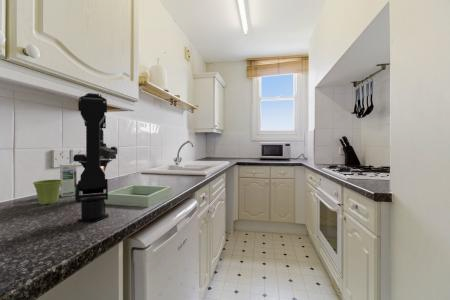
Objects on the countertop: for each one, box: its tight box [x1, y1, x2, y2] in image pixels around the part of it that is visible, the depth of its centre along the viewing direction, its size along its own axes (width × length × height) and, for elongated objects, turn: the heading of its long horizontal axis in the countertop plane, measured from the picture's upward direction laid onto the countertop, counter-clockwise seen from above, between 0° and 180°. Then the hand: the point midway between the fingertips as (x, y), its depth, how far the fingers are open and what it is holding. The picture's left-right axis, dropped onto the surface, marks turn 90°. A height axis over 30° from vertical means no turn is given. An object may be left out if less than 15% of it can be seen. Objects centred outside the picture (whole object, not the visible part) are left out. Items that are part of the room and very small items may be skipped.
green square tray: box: [105, 184, 173, 208], centre depth 99 cm, size 20×20×4 cm
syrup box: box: [59, 162, 78, 198], centre depth 106 cm, size 6×6×14 cm
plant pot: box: [32, 179, 62, 206], centre depth 92 cm, size 9×9×9 cm
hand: (96, 176), depth 101 cm, fingers closed on seedling pot, 6 cm apart
